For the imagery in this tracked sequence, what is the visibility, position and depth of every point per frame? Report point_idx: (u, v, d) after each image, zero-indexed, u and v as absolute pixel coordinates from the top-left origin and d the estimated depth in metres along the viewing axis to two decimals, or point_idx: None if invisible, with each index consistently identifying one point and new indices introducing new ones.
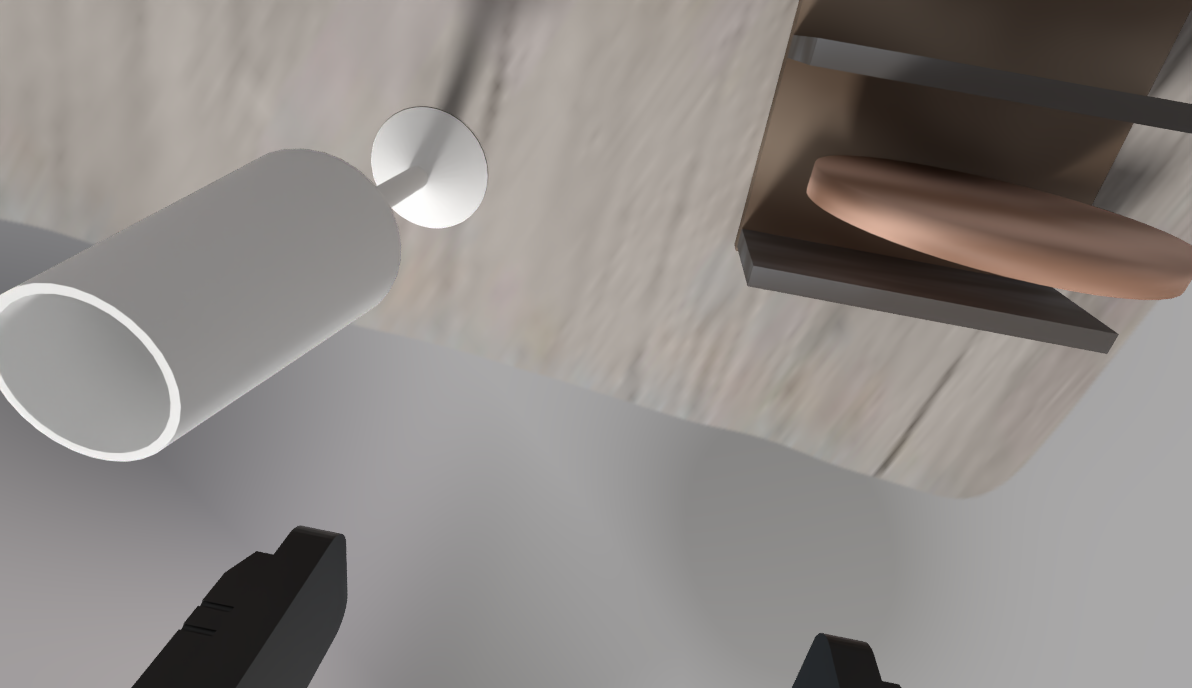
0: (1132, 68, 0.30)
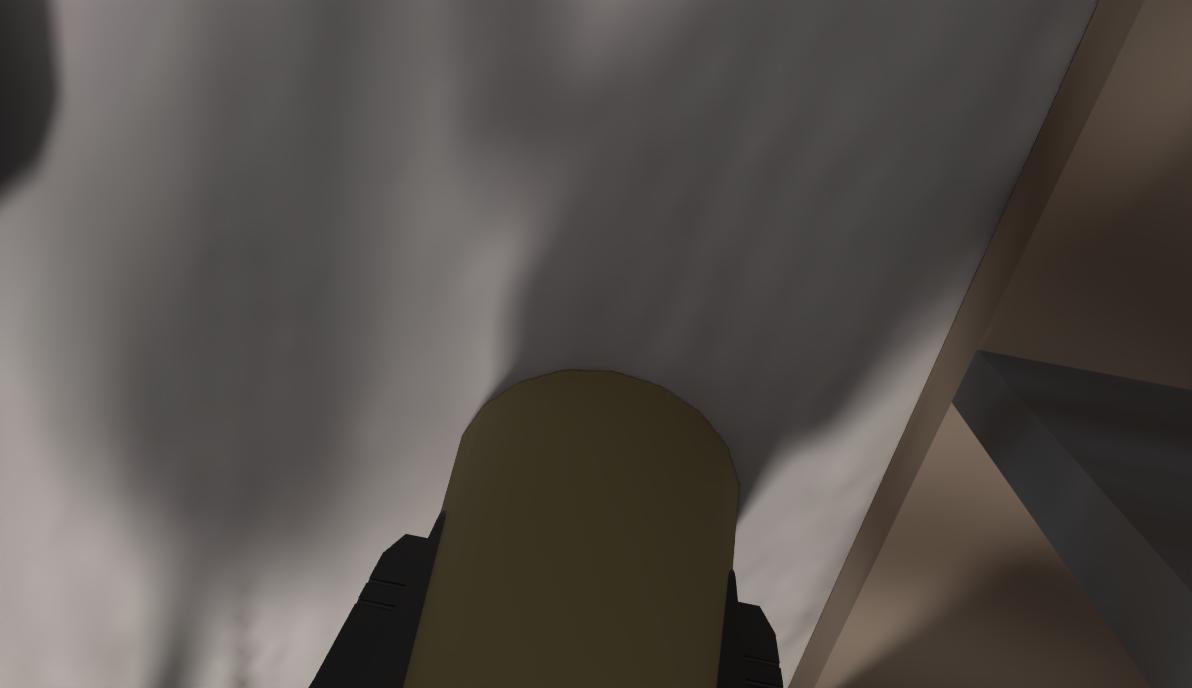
0: None
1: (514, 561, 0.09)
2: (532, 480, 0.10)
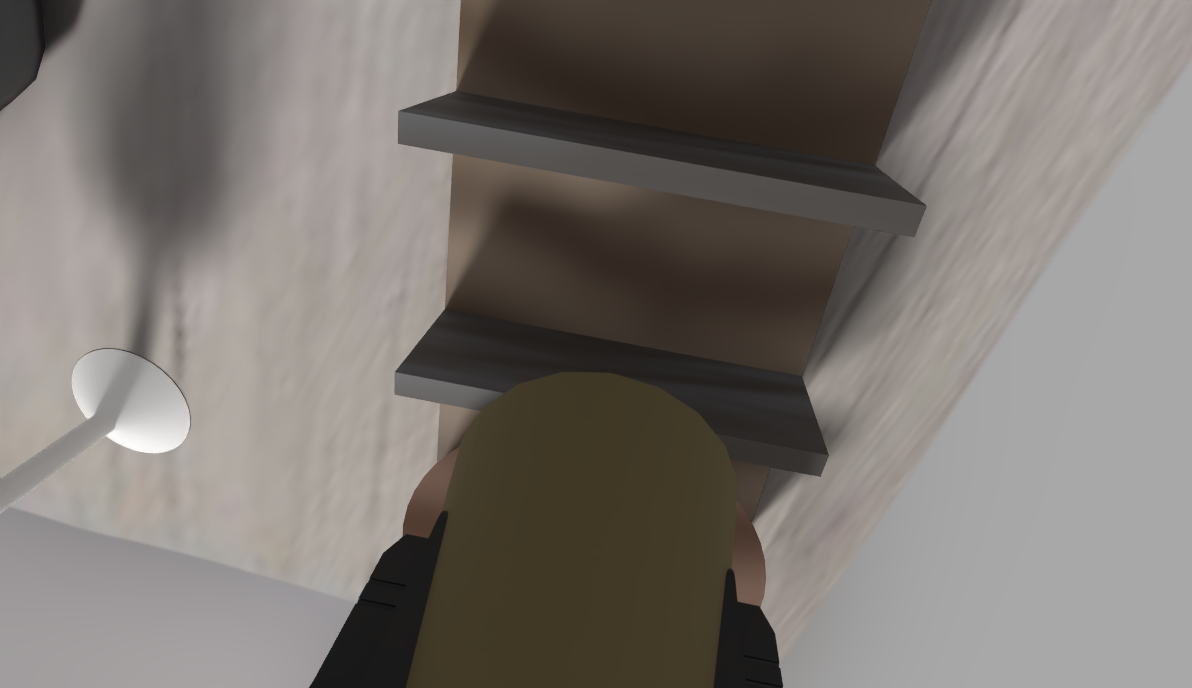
0: (782, 350, 0.29)
1: (514, 562, 0.09)
2: (531, 481, 0.10)
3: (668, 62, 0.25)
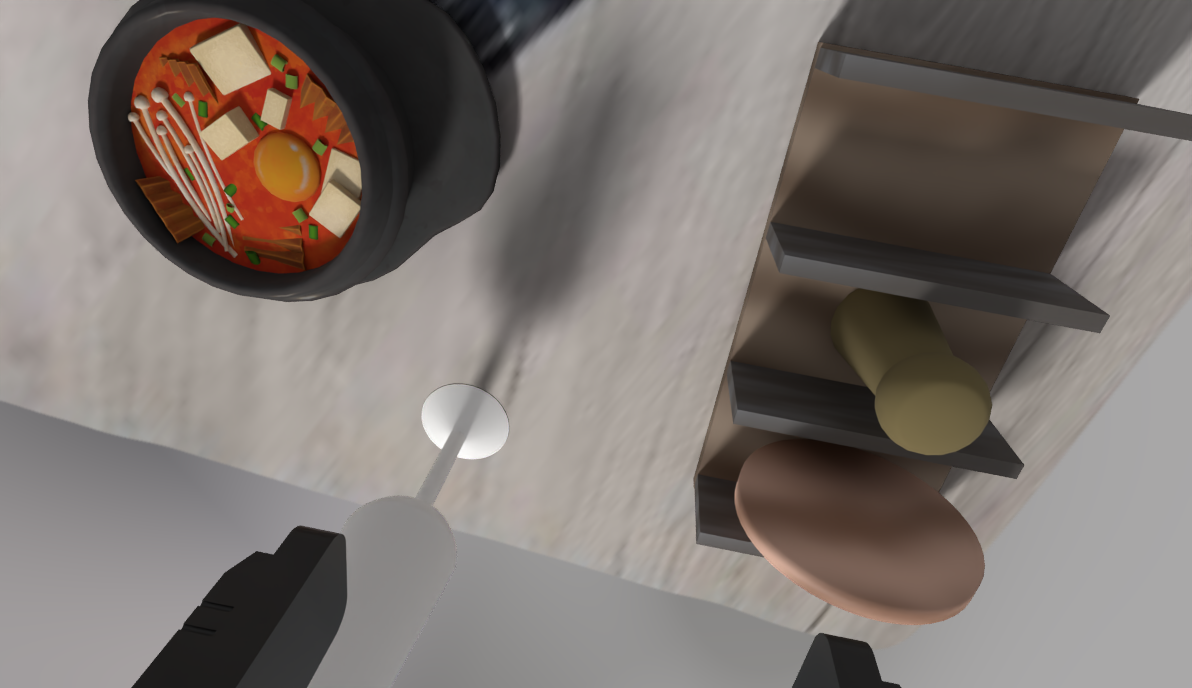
0: None
1: (897, 319, 0.36)
2: (888, 305, 0.37)
3: (919, 208, 0.38)
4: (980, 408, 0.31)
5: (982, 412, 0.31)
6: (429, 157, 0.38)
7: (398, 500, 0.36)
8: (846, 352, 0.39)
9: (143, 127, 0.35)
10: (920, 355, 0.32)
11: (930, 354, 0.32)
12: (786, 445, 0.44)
